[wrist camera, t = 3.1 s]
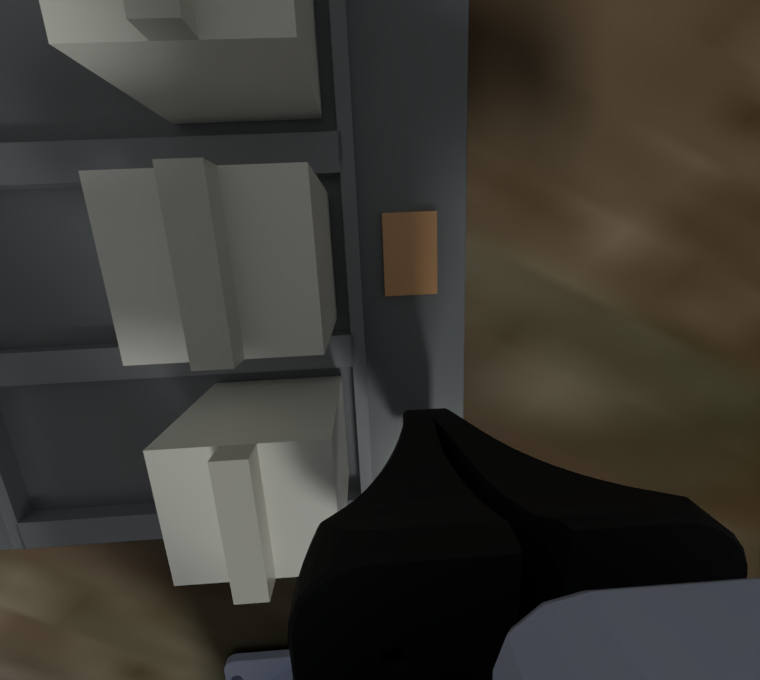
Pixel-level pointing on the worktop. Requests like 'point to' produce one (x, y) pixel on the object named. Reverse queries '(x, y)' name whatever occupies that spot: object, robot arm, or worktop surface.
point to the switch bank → (224, 147)
